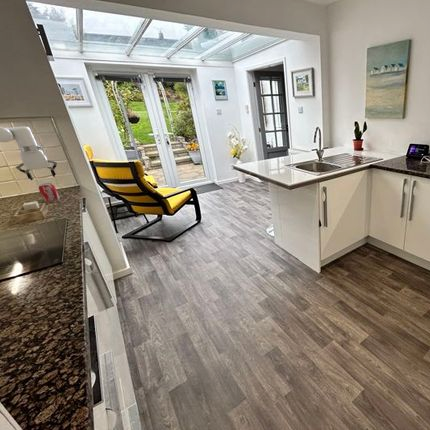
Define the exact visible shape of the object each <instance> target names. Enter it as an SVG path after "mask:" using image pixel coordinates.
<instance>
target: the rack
mask: <svg viewBox="0 0 430 430" xmlns="http://www.w3.org/2000/svg"><path fill="white" fill-rule="evenodd" d="M38 204H39V206H40V207H38V208H32V209H27V210H24V208H23V206H19V208H18V209H17V210H16V212H15V214H14V215H13V218H14V220H15V221H16V223H17V224H18V225H19V224H24V223H28V222H29V223H30V222H35V221H39V220H44V219H46V217H47V214H48V212H49V211H48V210H49V208H48V206H47V204H46V202H41V203H38Z"/></svg>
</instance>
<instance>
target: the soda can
mask: <svg viewBox="0 0 430 430" xmlns="http://www.w3.org/2000/svg"><path fill="white" fill-rule="evenodd" d="M38 190H39V192H40V195H41V197H42V199H43V201H44V203H51V202H56V201H59V200H60V198H61V197H60V196H59V195H60V194H59V193H58V191H57V189H56V187H55V185H54V184H53V182H44V183H40V184H38Z"/></svg>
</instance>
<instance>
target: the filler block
mask: <svg viewBox="0 0 430 430" xmlns="http://www.w3.org/2000/svg"><path fill="white" fill-rule="evenodd" d="M39 204H40V203H39V202H38V201H36V200H35V201H31V202H25V203H23V204H22V207H23V208H24V210H27V209H32V208H38V207H40V206H39Z"/></svg>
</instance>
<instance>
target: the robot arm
mask: <svg viewBox="0 0 430 430" xmlns="http://www.w3.org/2000/svg"><path fill="white" fill-rule="evenodd" d="M11 141H15V143H16V144H17V146H18V149H19V150H20V152H19V155H20V158H21V162H22V163H20V164H19V165H16V166H15V169H17V170H18V171H19V172H21V173H24V174H25V175H26V176H27V178H28V179H29V180H30V181H33V180H34V177H33V176H32V173H31V172H30V171H33V170H39V169H40V170H41V169H49V170H50V172H51V175H52V177H53V178H56V176H57V173H56V171H55V169H56V168H57V165H58V161H56V160H50V159H48V158H47V156H46V154H45V152H43V150H42V149H43V146H42V145H38V143H37V141H36V138H35V136H34V135H33V133H32V130H31V128H30V127H29V126H13V127H2V126H0V143H9V142H11ZM51 164H53V165H52V166H51ZM22 167H24V168H25V169H23V168H22Z"/></svg>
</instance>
